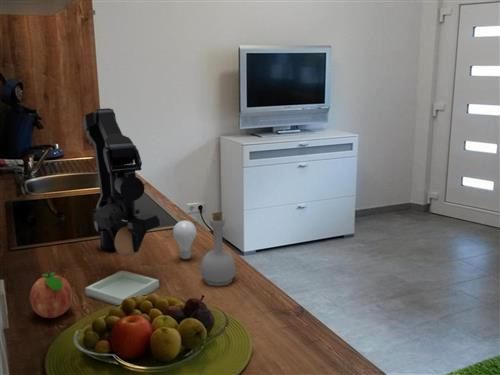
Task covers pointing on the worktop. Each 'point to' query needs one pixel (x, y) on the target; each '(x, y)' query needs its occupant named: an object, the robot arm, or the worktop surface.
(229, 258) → the potion bottle
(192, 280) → the worktop surface
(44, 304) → the fruit
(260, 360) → the worktop surface
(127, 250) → the egg
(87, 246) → the worktop surface
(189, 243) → the lightbulb
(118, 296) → the dish
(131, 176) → the robot arm
